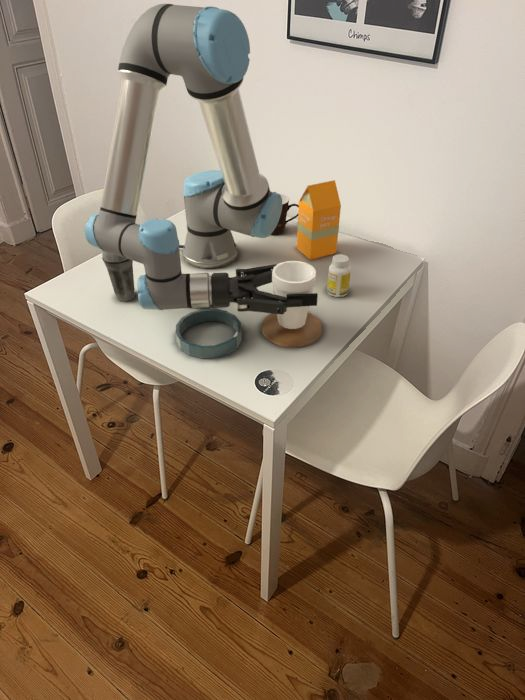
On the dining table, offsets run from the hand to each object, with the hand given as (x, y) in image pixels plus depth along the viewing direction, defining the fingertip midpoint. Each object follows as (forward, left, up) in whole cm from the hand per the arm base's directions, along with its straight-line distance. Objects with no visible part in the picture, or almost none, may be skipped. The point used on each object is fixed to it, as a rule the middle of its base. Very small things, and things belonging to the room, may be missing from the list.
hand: (313, 286), depth 116 cm
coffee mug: (-37, +33, -11) cm, 51 cm away
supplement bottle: (-4, +17, -11) cm, 21 cm away
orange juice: (-21, +31, -11) cm, 39 cm away
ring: (-15, -18, -11) cm, 26 cm away
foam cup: (-3, -3, -9) cm, 10 cm away
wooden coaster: (-3, -3, -11) cm, 12 cm away
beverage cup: (-43, -20, -11) cm, 49 cm away
